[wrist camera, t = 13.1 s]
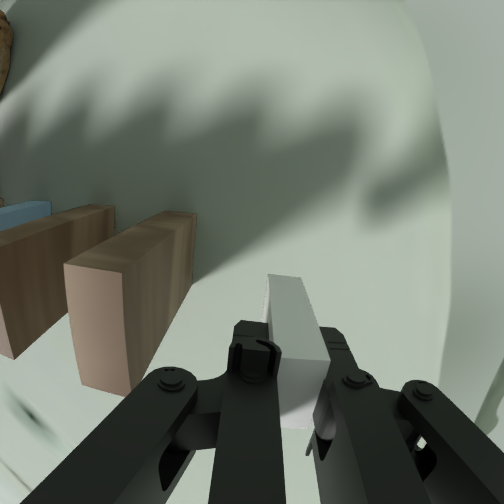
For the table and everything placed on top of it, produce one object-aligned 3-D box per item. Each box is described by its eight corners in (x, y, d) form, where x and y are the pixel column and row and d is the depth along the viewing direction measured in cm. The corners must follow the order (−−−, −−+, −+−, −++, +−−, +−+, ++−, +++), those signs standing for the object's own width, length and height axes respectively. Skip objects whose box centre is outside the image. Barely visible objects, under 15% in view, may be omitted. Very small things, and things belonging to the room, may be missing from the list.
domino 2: (89, 269, 21) (-15, 346, 10) (89, 204, 20) (-36, 244, 9) (114, 273, 22) (14, 360, 10) (114, 206, 20) (-8, 250, 9)
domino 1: (161, 280, 22) (81, 384, 10) (164, 210, 20) (63, 263, 9) (191, 284, 22) (132, 398, 10) (196, 214, 20) (121, 273, 9)
